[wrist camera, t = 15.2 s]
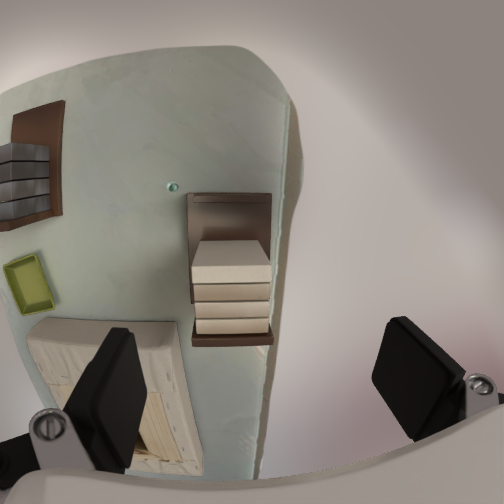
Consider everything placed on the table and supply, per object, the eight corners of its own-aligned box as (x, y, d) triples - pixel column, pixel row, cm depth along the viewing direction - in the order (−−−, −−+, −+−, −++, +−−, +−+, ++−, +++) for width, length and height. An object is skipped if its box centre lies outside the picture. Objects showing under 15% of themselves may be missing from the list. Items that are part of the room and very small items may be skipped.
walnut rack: (16, 115, 26) (-30, 107, 16) (65, 101, 27) (20, 82, 17) (15, 219, 30) (-32, 234, 20) (62, 214, 32) (14, 230, 21)
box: (206, 449, 45) (178, 317, 37) (205, 479, 38) (169, 349, 29) (102, 440, 44) (45, 314, 35) (93, 466, 36) (20, 337, 28)
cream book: (199, 240, 34) (191, 266, 24) (257, 240, 34) (272, 265, 25) (200, 253, 34) (192, 283, 24) (257, 252, 35) (271, 282, 25)
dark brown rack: (188, 192, 33) (172, 200, 22) (270, 193, 34) (292, 200, 23) (191, 300, 36) (182, 346, 26) (266, 299, 38) (283, 344, 27)
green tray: (27, 311, 34) (21, 316, 32) (8, 262, 32) (1, 265, 30) (61, 303, 35) (55, 309, 33) (42, 249, 32) (34, 253, 30)
